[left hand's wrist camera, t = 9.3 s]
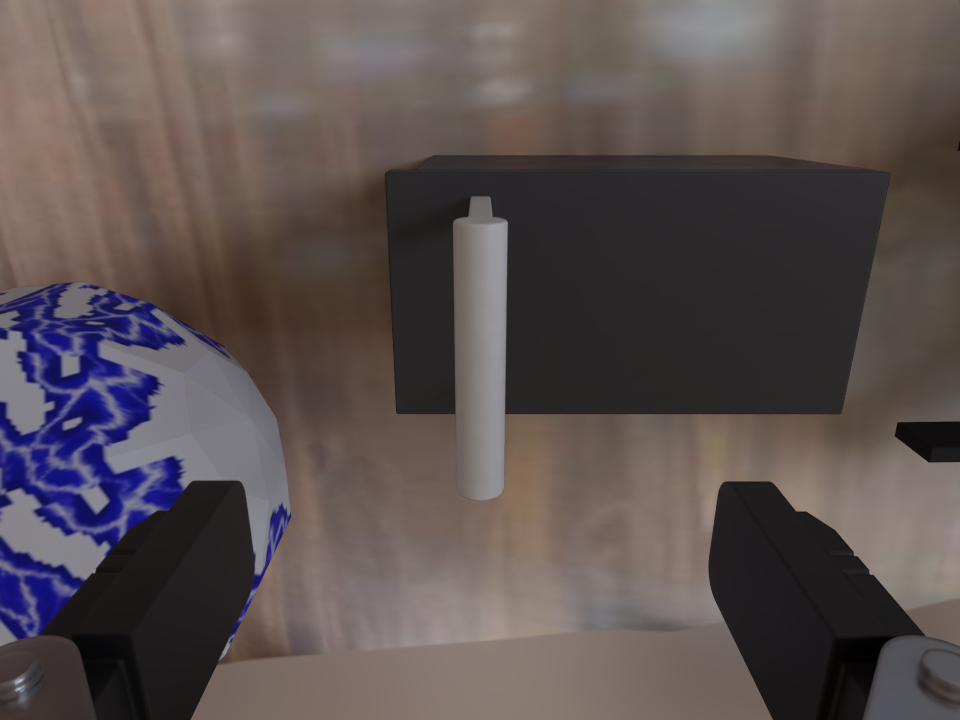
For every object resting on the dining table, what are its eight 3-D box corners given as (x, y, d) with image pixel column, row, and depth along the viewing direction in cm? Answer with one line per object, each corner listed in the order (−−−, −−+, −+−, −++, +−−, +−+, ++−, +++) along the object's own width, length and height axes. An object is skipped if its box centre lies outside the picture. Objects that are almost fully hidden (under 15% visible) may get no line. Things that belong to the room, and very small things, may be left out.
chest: (436, 333, 36) (422, 401, 28) (432, 155, 33) (415, 169, 25) (744, 334, 36) (826, 402, 28) (770, 155, 33) (872, 169, 25)
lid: (399, 402, 28) (365, 521, 20) (389, 169, 25) (343, 196, 16) (827, 402, 28) (971, 522, 20) (872, 169, 25) (1068, 196, 16)
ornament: (378, 734, 27) (-17, 879, 30) (361, 401, 42) (98, 518, 45) (-69, 468, 14) (-686, 764, 17) (133, 124, 29) (-216, 312, 32)
